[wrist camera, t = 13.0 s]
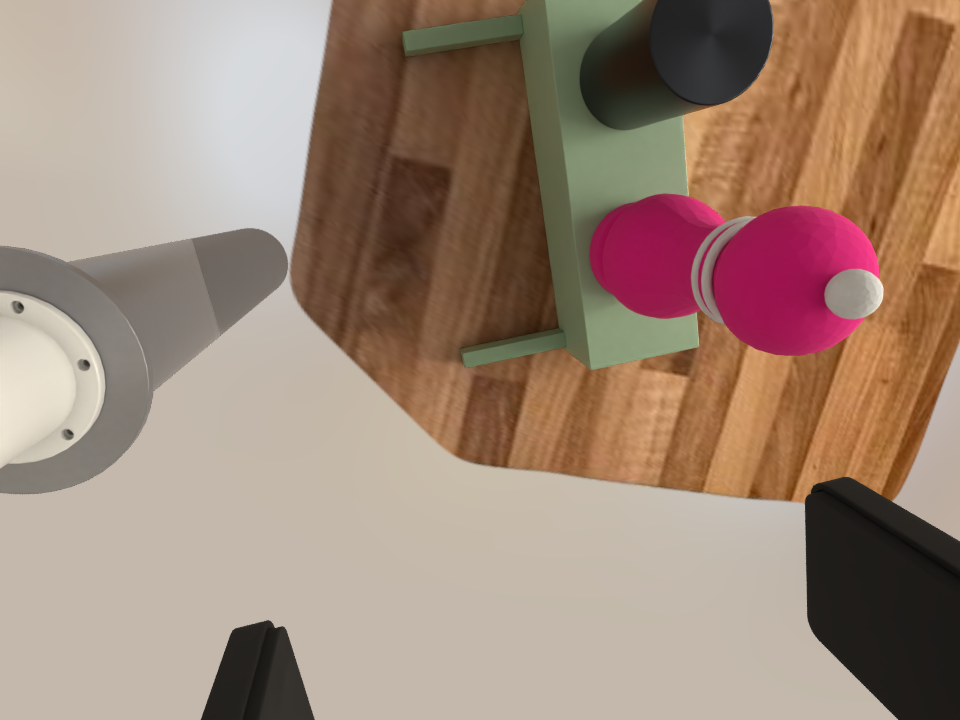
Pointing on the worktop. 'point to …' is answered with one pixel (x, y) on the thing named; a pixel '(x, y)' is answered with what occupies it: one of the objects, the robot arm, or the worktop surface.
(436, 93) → the worktop surface
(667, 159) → the riser
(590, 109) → the spice tin
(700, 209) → the pepper mill
